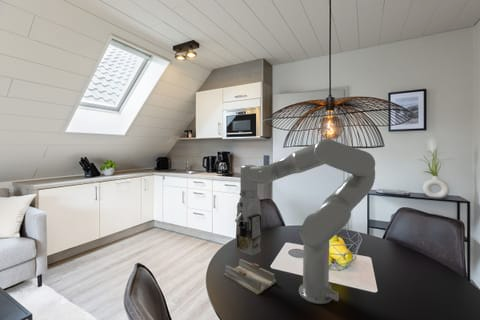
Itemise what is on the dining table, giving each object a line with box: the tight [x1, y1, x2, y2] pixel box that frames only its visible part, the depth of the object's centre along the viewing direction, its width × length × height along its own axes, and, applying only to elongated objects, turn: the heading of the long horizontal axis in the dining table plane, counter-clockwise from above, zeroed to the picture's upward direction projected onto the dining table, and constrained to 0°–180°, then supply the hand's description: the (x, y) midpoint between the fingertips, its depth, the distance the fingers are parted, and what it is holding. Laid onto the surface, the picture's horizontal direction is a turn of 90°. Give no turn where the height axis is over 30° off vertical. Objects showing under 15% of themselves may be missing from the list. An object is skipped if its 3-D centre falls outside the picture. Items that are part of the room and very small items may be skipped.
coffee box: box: [236, 213, 262, 256], centre depth 103 cm, size 9×6×16 cm
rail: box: [223, 258, 277, 295], centre depth 104 cm, size 12×20×5 cm, turn 45°
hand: (249, 234), depth 103 cm, fingers closed on coffee box, 6 cm apart
